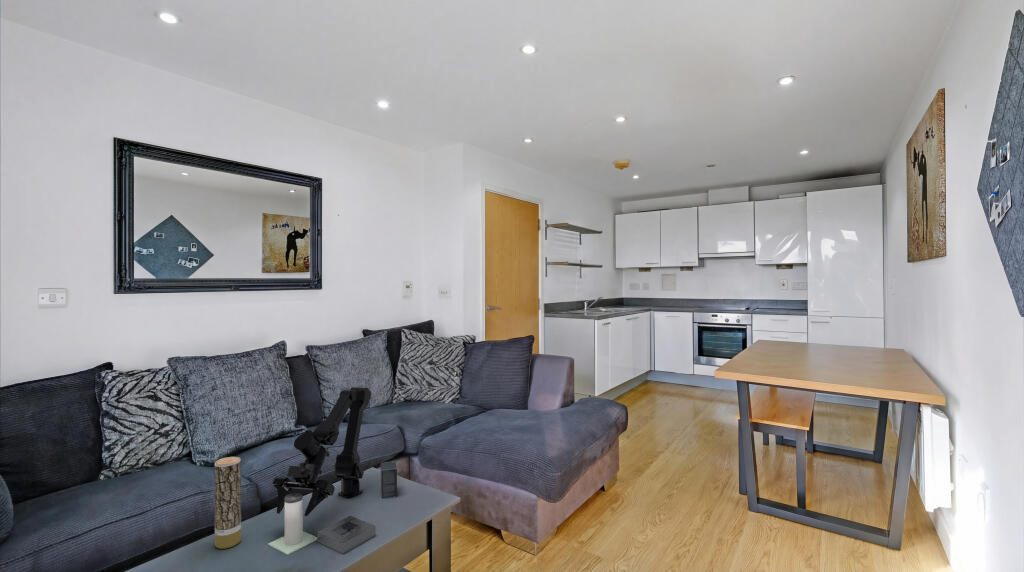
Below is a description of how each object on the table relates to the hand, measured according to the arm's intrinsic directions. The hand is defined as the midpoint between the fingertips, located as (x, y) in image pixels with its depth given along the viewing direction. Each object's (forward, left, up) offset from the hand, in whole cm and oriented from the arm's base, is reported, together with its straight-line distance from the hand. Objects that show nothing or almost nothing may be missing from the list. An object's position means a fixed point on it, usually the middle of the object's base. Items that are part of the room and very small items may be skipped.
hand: (291, 514), depth 141 cm
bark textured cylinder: (-16, -10, -9) cm, 21 cm away
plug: (0, +1, -8) cm, 8 cm away
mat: (0, +1, -9) cm, 9 cm away
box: (-1, +40, -9) cm, 41 cm away
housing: (+12, +11, -9) cm, 18 cm away
